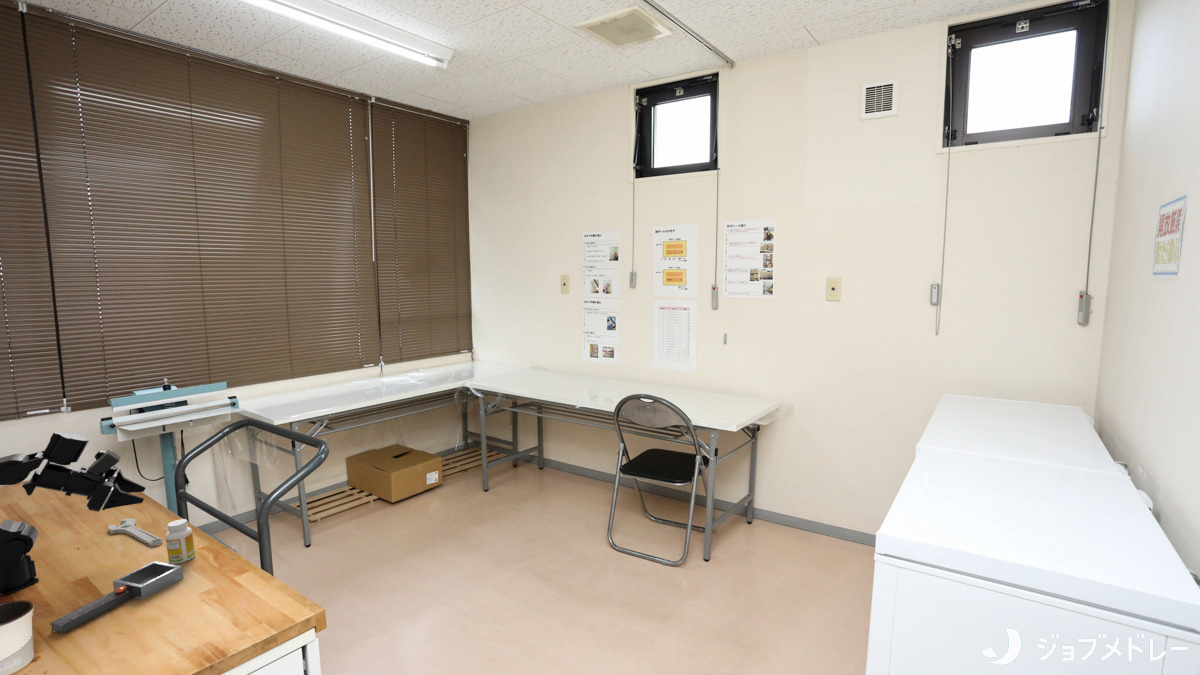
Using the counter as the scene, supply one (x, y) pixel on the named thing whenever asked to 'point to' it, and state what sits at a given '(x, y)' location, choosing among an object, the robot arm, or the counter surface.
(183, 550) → the supplement bottle
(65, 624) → the grey rectangular scoop
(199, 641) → the counter surface
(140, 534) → the adjustable wrench
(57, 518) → the counter surface
